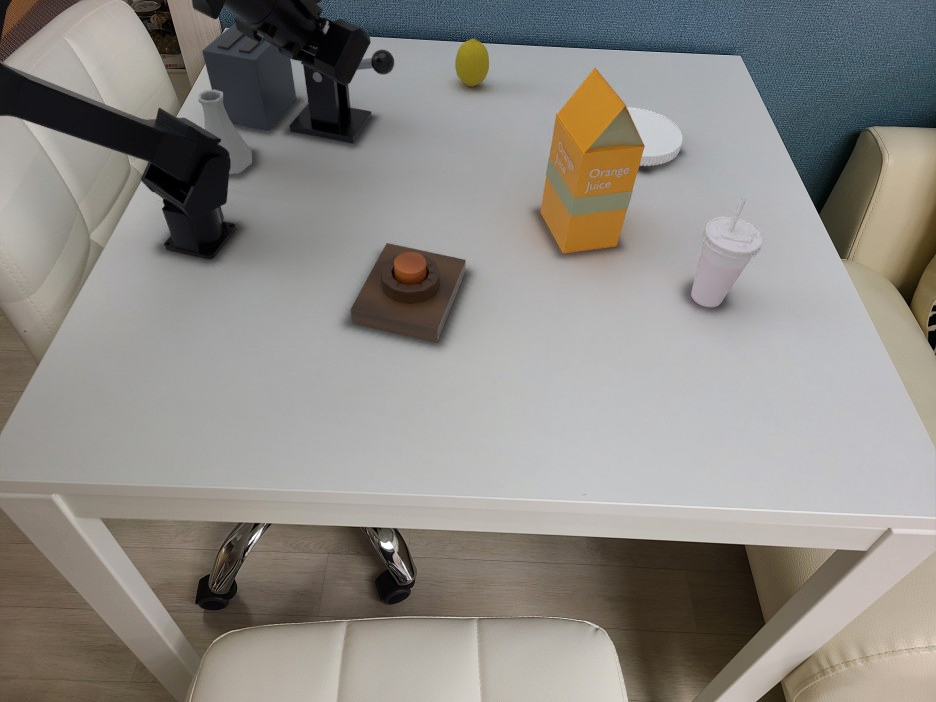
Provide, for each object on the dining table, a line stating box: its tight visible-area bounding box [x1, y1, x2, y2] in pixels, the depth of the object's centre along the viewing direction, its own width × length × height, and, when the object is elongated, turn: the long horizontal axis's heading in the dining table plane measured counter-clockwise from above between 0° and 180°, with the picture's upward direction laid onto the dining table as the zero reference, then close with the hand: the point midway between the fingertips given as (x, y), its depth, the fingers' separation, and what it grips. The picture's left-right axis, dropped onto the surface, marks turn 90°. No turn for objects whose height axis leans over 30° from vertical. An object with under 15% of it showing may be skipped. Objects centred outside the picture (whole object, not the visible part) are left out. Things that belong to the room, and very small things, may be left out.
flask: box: [197, 89, 253, 175], centre depth 91 cm, size 7×7×10 cm
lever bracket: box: [289, 64, 373, 144], centre depth 98 cm, size 10×8×11 cm
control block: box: [350, 242, 467, 343], centre depth 77 cm, size 12×10×4 cm
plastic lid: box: [626, 106, 684, 167], centre depth 102 cm, size 14×14×2 cm
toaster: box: [201, 22, 297, 132], centre depth 100 cm, size 10×8×11 cm
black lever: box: [357, 49, 395, 76], centre depth 94 cm, size 12×3×3 cm, turn 75°
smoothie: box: [690, 196, 764, 308], centre depth 76 cm, size 6×6×14 cm
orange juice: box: [539, 67, 645, 254], centre depth 81 cm, size 8×9×20 cm
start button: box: [394, 252, 426, 285], centre depth 75 cm, size 4×4×2 cm
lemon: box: [454, 38, 490, 88], centre depth 110 cm, size 6×6×8 cm
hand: (341, 64), depth 87 cm, fingers closed
